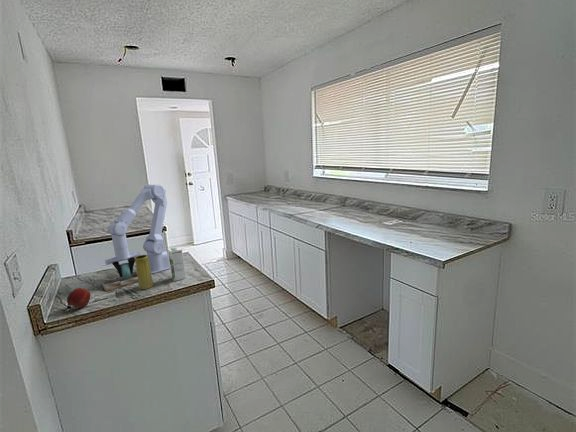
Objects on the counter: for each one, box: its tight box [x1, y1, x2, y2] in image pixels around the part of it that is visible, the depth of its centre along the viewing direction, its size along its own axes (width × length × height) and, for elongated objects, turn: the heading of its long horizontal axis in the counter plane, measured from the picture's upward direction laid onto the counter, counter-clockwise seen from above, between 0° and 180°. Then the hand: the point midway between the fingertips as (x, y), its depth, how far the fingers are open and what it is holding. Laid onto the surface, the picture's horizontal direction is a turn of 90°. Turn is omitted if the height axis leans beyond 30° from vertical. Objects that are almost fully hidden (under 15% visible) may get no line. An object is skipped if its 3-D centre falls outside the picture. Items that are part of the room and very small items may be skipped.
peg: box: [119, 262, 132, 280], centre depth 142 cm, size 4×4×7 cm
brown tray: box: [101, 271, 138, 293], centre depth 141 cm, size 15×11×2 cm
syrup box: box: [167, 246, 187, 282], centre depth 141 cm, size 6×6×14 cm
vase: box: [134, 254, 154, 290], centre depth 134 cm, size 6×6×14 cm
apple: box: [66, 287, 91, 309], centre depth 119 cm, size 7×8×8 cm
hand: (126, 274), depth 142 cm, fingers closed on peg, 4 cm apart
